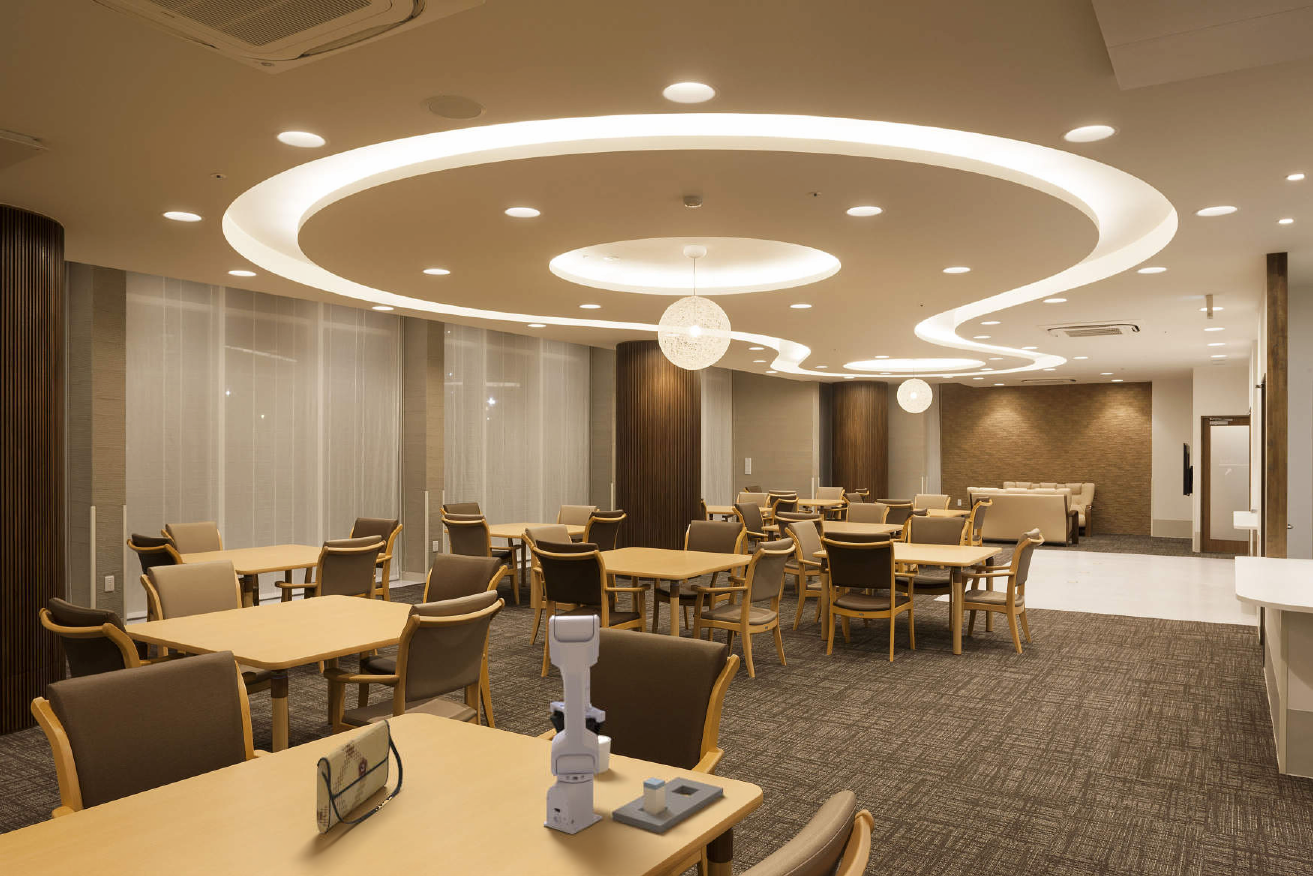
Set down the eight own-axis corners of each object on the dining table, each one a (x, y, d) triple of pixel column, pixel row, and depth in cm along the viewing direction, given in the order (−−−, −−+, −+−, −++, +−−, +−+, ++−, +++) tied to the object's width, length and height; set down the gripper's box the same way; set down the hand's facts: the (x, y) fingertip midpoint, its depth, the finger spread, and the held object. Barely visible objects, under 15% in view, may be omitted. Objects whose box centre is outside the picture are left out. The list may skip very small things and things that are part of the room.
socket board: (660, 833, 163) (660, 826, 164) (612, 819, 170) (612, 811, 170) (723, 795, 183) (723, 788, 183) (678, 783, 190) (677, 777, 190)
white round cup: (613, 764, 203) (613, 735, 203) (608, 774, 196) (608, 744, 197) (585, 763, 204) (585, 734, 204) (579, 773, 197) (579, 743, 197)
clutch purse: (344, 839, 162) (345, 761, 163) (310, 837, 163) (311, 759, 164) (410, 783, 191) (410, 717, 192) (381, 782, 192) (382, 716, 193)
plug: (656, 820, 170) (655, 785, 170) (643, 816, 172) (643, 782, 172) (665, 815, 173) (665, 780, 173) (652, 811, 174) (652, 777, 175)
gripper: (613, 688, 185) (613, 750, 185) (564, 679, 194) (564, 738, 193) (593, 695, 179) (593, 759, 179) (543, 685, 188) (543, 746, 187)
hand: (577, 749), depth 186 cm, fingers open, 7 cm apart
